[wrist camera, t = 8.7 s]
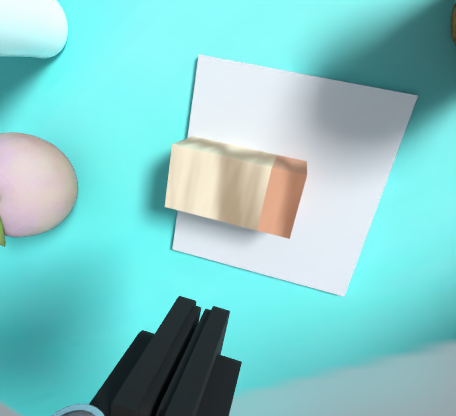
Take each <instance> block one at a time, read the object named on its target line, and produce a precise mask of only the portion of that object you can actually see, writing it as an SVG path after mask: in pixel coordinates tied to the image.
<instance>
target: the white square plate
mask: <svg viewBox="0 0 456 416" xmlns="http://www.w3.org/2000/svg"><path fill="white" fill-rule="evenodd" d="M417 97H418V95H412V94H407V93H402V92H396V91H391V90H386V89H380V88H375V87H370V86H364V85H359V84H354V83H348V82H343V81H338V80H332V79H327V78H322V77H316V76H311V75H306V74H300V73H295V72H290V71H284V70H279V69H273V68H268V67H263V66H257V65H252V64H247V63H241V62H236V61H231V60H225V59H220V58H215V57H209V56H204V55H199V56H198V63H197V71H196V78H195V86H194V93H193V100H192V108H191V115H190V123H189V130H188V137H187V138H189V137H192V136H195V137H200V138H204V139H209V140H213V141H218V142H222V143H227V144H231V145H236V146H240V147H245V148H249V149H254V150H258V151H263V152H267V153H272V154H276V155H281V156H285V157H290V158H294V159H299V160H303V161H307V178H306V181H305V185H304V189H303V192H302V196H301V199H300V203H299V207H298V210H297V214H296V218H295V221H294V225H293V228H292V232H291V236H290V239H288V238H284V237H280V236H276V235H272V234H269V233H265V232H261V231H257V230H253V229H249V228H245V227H241V226H237V225H234V224H230V223H226V222H222V221H218V220H214V219H210V218H206V217H202V216H198V215H195V214H191V213H187V212H183V211H179V210H178V212H177V219H176V226H175V234H174V241H173V250H176V251H180V252H184V253H187V254H191V255H195V256H198V257H202V258H206V259H209V260H213V261H216V262H220V263H224V264H227V265H231V266H235V267H238V268H242V269H246V270H249V271H253V272H256V273H260V274H264V275H267V276H271V277H275V278H278V279H282V280H286V281H289V282H293V283H296V284H300V285H304V286H307V287H311V288H315V289H318V290H322V291H326V292H329V293H333V294H336V295H340V296H345V293H346V291H347V288H348V285H349V282H350V280H351V277H352V274H353V271H354V269H355V266H356V263H357V261H358V258H359V255H360V252H361V250H362V247H363V244H364V242H365V239H366V236H367V233H368V231H369V228H370V225H371V223H372V220H373V217H374V214H375V212H376V209H377V206H378V204H379V201H380V198H381V195H382V193H383V190H384V187H385V184H386V182H387V179H388V176H389V174H390V171H391V168H392V165H393V163H394V160H395V157H396V155H397V152H398V149H399V146H400V144H401V141H402V138H403V136H404V133H405V130H406V127H407V125H408V122H409V119H410V117H411V114H412V111H413V108H414V106H415V103H416V100H417Z"/></svg>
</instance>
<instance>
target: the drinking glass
mask: <svg viewBox="0 0 456 416" xmlns="http://www.w3.org/2000/svg"><path fill="white" fill-rule="evenodd" d="M67 37H68V23H67V18H66V15H65V13H64V10H63V9H62V7H61V5H60V4H59V3H58V1H57V0H0V56H14V57H35V58H50V57H53V56H55V55H57V54H58V53H59V52H60V51H61V50H62V49H63V47H64V46H65V44H66V41H67Z"/></svg>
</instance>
